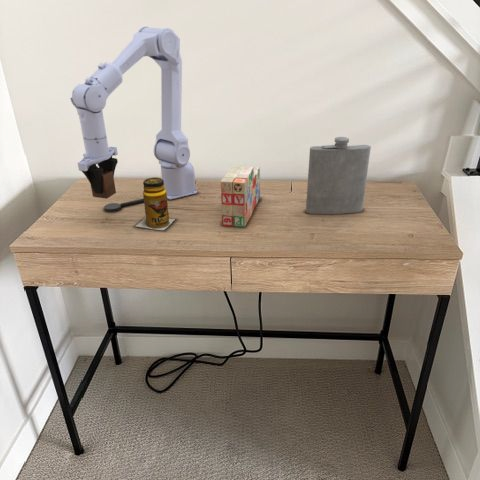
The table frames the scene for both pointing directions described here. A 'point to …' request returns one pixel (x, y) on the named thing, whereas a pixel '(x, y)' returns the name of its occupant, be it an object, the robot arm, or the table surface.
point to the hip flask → (337, 178)
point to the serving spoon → (120, 205)
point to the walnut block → (106, 185)
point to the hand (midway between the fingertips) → (103, 189)
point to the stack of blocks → (239, 195)
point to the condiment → (155, 205)
